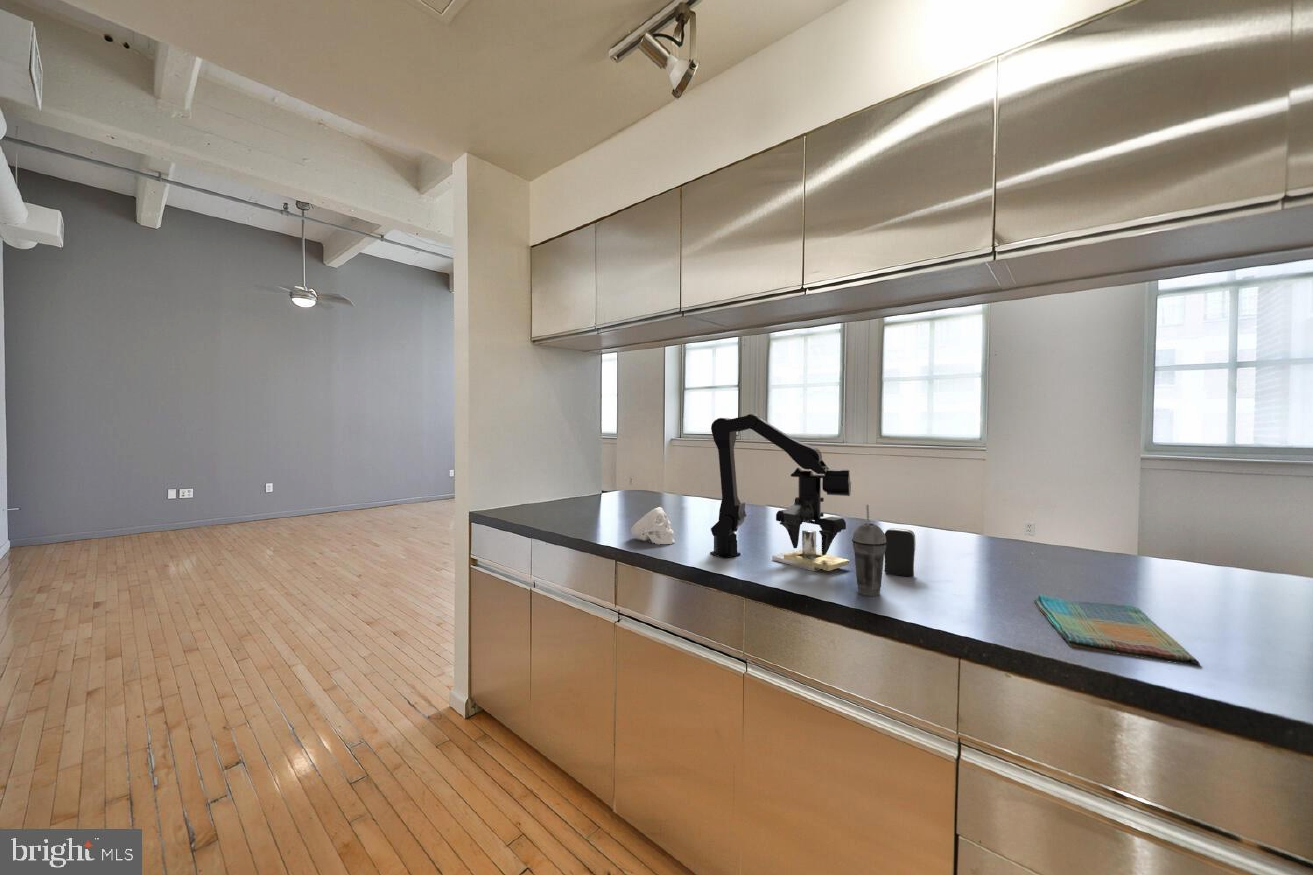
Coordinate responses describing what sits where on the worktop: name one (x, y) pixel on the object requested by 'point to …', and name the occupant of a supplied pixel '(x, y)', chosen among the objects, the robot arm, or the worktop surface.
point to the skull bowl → (654, 527)
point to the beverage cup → (869, 557)
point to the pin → (809, 544)
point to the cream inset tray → (811, 561)
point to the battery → (900, 552)
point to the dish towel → (1112, 629)
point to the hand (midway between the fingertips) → (809, 551)
